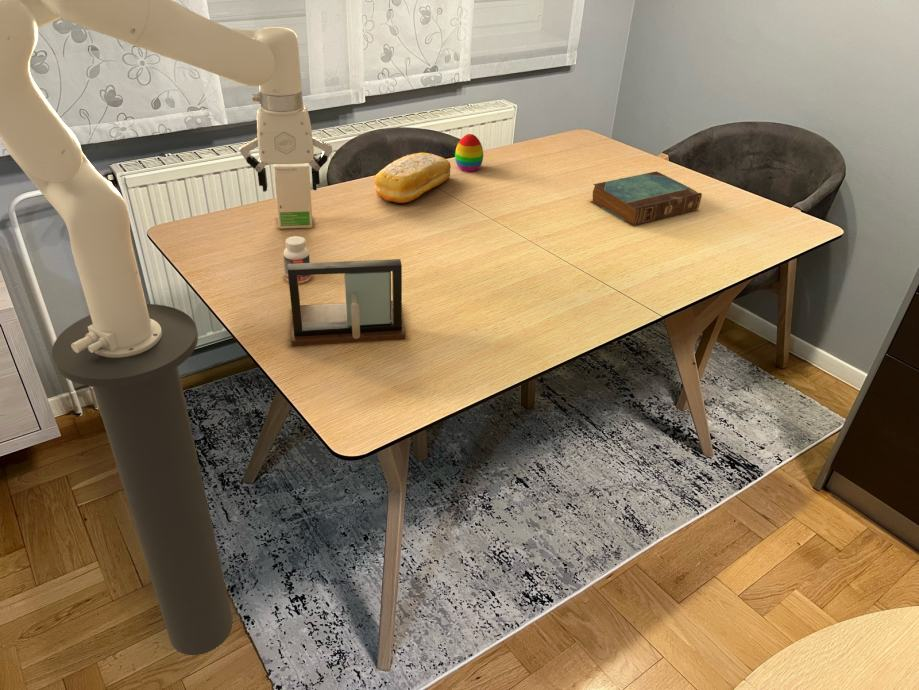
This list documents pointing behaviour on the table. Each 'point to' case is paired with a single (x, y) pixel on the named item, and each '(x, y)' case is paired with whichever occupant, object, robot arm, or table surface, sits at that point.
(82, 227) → the robot arm
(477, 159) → the decorative egg
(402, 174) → the bread
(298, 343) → the window frame
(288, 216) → the cosmetic box
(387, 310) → the pane
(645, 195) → the book
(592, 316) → the table surface
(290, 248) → the pill bottle
